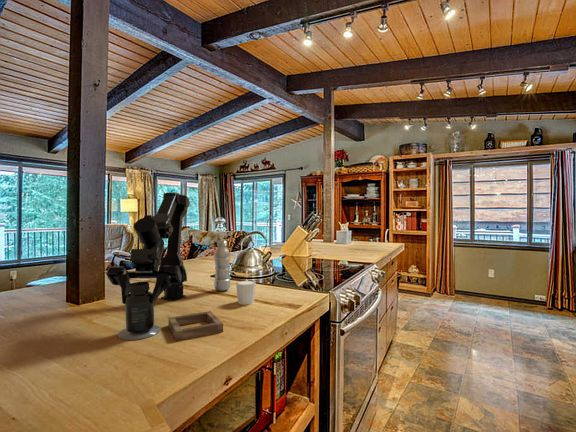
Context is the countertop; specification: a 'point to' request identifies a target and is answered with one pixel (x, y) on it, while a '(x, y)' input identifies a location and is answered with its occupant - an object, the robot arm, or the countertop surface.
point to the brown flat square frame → (195, 331)
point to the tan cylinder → (246, 292)
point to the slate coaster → (138, 334)
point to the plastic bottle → (222, 267)
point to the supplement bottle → (139, 308)
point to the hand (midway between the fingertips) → (137, 302)
